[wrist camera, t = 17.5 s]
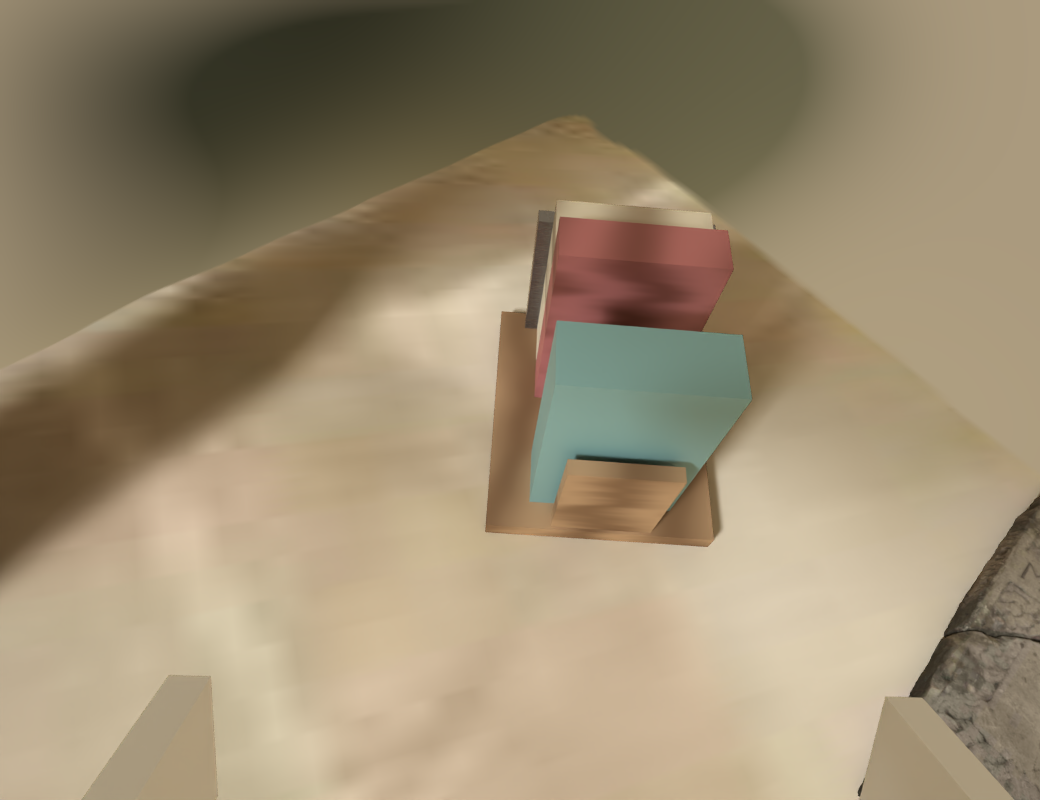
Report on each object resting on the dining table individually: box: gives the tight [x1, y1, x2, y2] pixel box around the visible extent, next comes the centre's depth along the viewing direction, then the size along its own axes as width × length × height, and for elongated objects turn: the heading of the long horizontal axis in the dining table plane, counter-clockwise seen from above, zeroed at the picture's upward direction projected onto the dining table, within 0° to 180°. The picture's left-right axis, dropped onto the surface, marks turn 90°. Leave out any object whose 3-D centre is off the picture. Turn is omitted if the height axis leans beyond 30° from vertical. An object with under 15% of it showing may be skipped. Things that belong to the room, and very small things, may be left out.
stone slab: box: [858, 496, 1040, 800], centre depth 45 cm, size 10×3×30 cm
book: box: [529, 320, 752, 511], centre depth 41 cm, size 10×4×16 cm, turn 87°
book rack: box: [485, 200, 734, 547], centre depth 45 cm, size 16×18×18 cm
